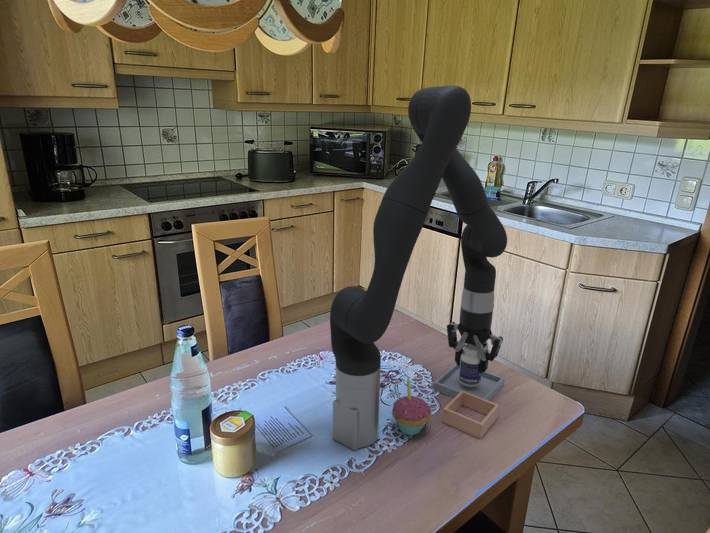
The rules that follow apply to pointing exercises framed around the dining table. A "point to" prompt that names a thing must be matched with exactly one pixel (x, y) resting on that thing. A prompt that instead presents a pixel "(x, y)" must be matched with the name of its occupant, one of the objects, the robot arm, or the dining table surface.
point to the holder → (465, 422)
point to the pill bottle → (470, 366)
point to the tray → (453, 387)
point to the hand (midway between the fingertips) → (470, 367)
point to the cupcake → (411, 413)
